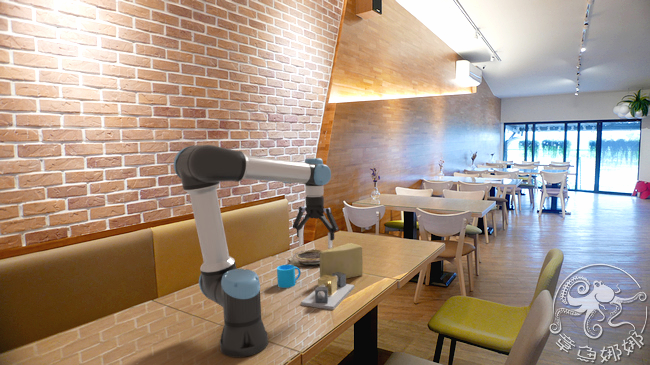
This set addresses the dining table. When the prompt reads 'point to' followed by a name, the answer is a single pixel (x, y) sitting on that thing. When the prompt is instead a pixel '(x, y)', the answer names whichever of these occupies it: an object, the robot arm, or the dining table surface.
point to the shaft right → (340, 279)
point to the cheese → (342, 260)
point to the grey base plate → (329, 298)
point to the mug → (287, 275)
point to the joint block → (329, 283)
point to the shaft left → (321, 294)
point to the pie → (306, 258)
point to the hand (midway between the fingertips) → (315, 246)
